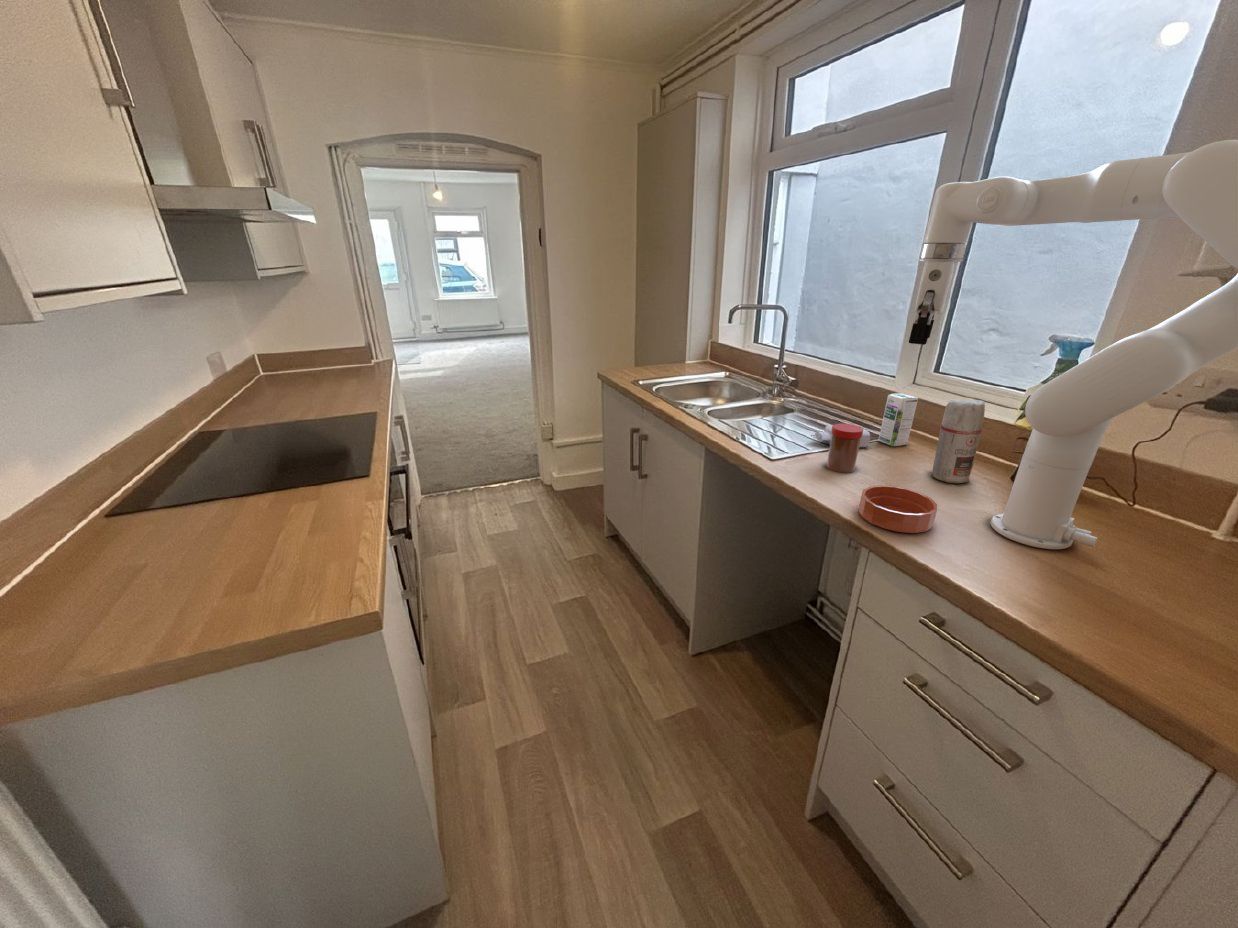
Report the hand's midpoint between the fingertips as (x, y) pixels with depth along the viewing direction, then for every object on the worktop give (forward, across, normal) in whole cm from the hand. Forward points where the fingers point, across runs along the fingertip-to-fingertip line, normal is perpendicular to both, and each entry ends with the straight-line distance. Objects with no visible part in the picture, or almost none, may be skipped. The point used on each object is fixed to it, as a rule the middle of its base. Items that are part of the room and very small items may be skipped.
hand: (919, 340), depth 103 cm
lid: (+24, +6, +11) cm, 27 cm away
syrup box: (+35, +34, +1) cm, 49 cm away
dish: (+34, -18, -5) cm, 39 cm away
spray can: (+34, +13, -13) cm, 39 cm away
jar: (+35, +5, +10) cm, 37 cm away
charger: (+35, +24, +15) cm, 45 cm away
